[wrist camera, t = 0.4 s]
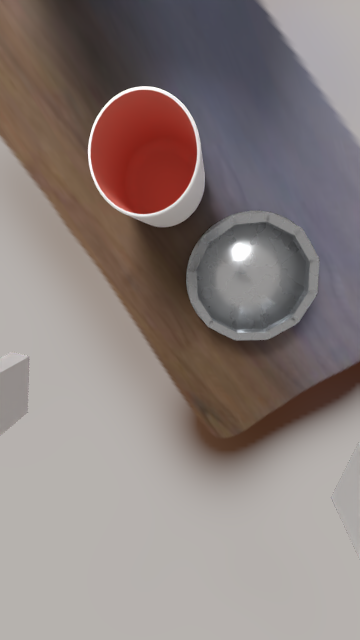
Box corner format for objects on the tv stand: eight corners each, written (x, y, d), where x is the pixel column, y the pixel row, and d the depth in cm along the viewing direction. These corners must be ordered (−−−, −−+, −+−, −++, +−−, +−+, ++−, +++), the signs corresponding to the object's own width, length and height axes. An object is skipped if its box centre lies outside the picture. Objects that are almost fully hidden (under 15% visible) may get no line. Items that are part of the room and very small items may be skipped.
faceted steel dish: (183, 218, 32) (180, 215, 29) (319, 205, 29) (328, 201, 27) (190, 338, 36) (188, 344, 33) (311, 336, 33) (318, 342, 31)
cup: (159, 119, 30) (132, 54, 20) (222, 178, 30) (226, 143, 21) (110, 192, 32) (66, 166, 23) (170, 244, 33) (151, 241, 23)
